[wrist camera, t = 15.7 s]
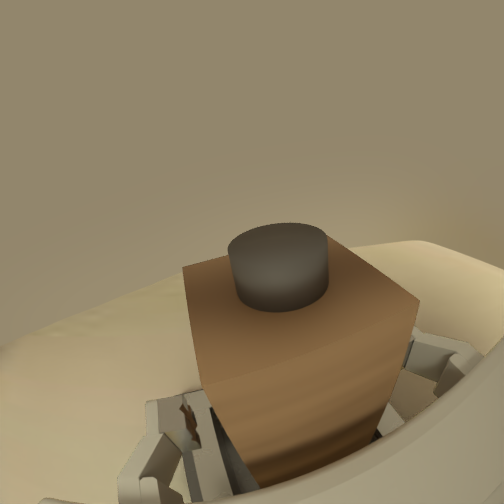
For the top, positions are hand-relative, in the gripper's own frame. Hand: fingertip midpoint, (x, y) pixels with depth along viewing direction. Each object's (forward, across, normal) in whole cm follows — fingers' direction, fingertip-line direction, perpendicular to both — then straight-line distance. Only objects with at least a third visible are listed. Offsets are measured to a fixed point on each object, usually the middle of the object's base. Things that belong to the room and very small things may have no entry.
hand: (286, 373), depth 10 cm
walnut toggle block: (-1, 0, +8) cm, 8 cm away
